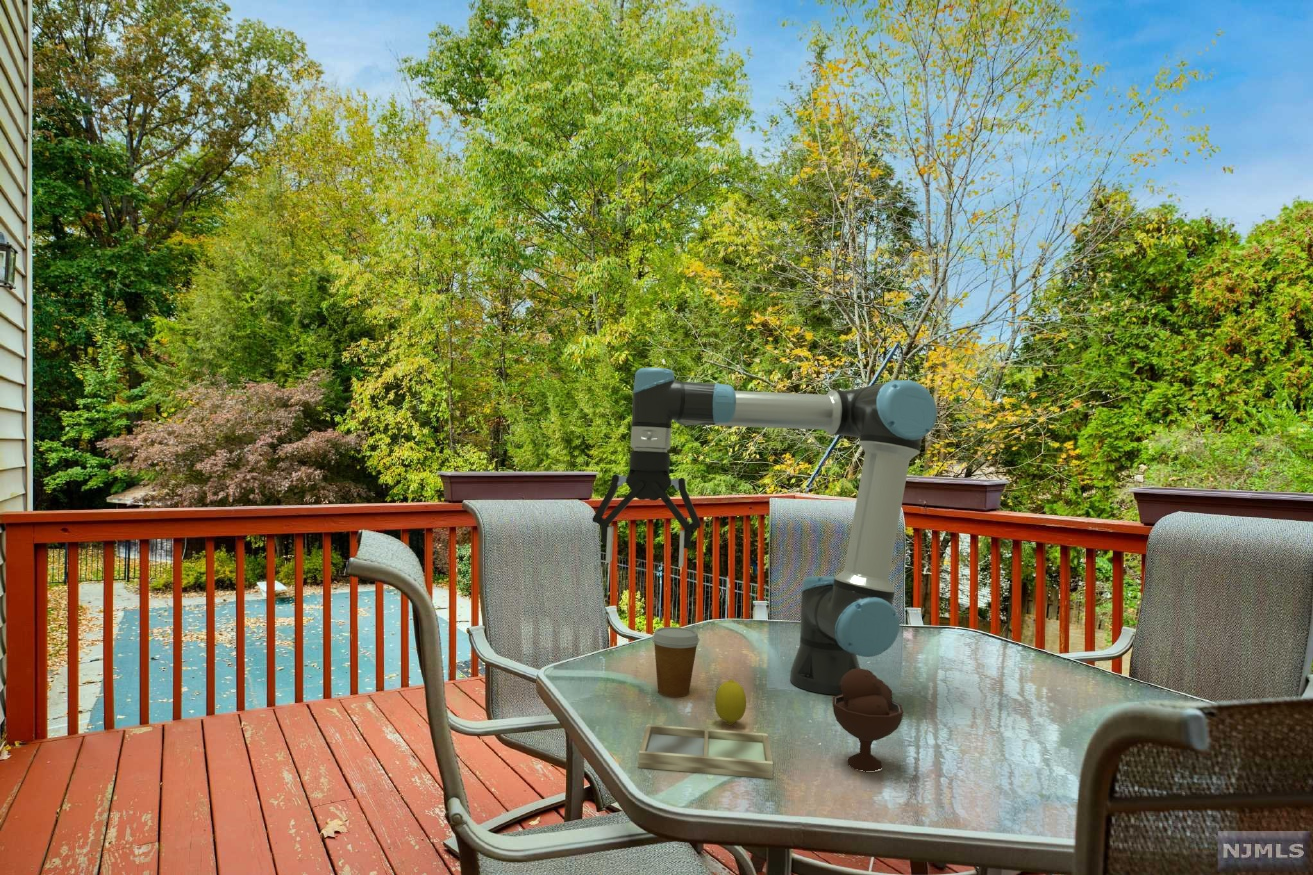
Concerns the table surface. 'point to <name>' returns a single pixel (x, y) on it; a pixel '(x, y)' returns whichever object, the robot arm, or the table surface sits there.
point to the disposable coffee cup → (674, 659)
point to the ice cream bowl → (866, 714)
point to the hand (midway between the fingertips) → (644, 563)
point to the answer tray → (706, 751)
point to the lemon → (730, 701)
